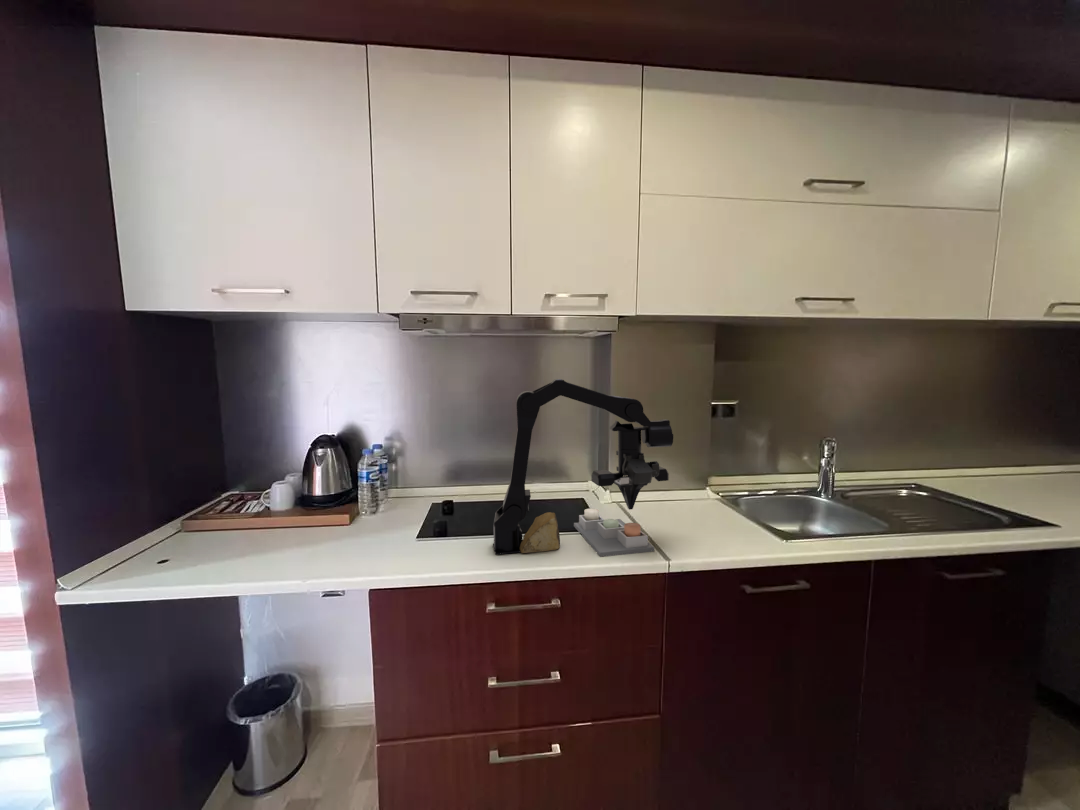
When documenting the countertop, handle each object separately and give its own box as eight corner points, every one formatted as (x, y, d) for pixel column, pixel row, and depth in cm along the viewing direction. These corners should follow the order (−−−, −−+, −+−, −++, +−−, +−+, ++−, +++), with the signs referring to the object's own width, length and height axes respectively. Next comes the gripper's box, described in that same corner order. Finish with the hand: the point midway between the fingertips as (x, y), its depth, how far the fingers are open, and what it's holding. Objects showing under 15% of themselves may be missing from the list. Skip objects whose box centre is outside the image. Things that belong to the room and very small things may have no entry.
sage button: (606, 535, 118) (606, 524, 118) (601, 530, 122) (601, 519, 122) (620, 534, 119) (620, 523, 119) (615, 529, 123) (615, 518, 123)
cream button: (587, 524, 124) (587, 513, 124) (582, 519, 128) (582, 509, 128) (600, 522, 125) (600, 512, 125) (596, 518, 129) (596, 507, 129)
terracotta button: (628, 540, 112) (628, 528, 112) (621, 534, 116) (621, 523, 116) (643, 539, 113) (643, 527, 113) (636, 533, 117) (636, 522, 116)
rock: (514, 549, 107) (556, 545, 106) (515, 513, 112) (555, 510, 111) (524, 560, 116) (562, 557, 115) (524, 527, 121) (561, 524, 120)
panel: (600, 556, 109) (600, 542, 108) (573, 526, 130) (573, 514, 130) (654, 551, 111) (654, 537, 111) (619, 522, 133) (619, 510, 133)
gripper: (606, 456, 104) (607, 523, 105) (680, 450, 108) (680, 515, 109) (590, 448, 115) (591, 509, 116) (657, 443, 119) (658, 502, 120)
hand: (630, 509), depth 115 cm, fingers closed
